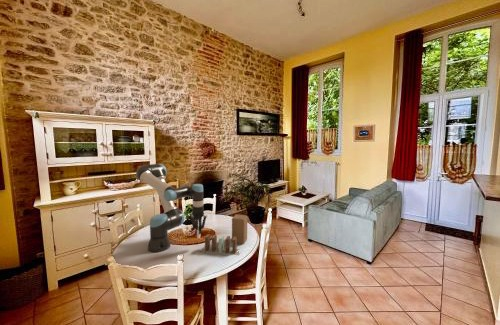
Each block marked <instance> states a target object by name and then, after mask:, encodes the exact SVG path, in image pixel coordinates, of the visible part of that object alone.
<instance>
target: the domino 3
mask: <svg viewBox="0 0 500 325" xmlns="http://www.w3.org/2000/svg"><path fill="white" fill-rule="evenodd" d="M224 243H225V246H224V248H225V253H229V251H230V248H231V236H230V235H227V236H226V238H225V242H224Z"/></svg>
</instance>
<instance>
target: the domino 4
mask: <svg viewBox="0 0 500 325" xmlns="http://www.w3.org/2000/svg"><path fill="white" fill-rule="evenodd" d="M231 243H232V246H231V247H232V248H231V249H232V254H235V253H236V251H237V249H238V244H237V237H234V238H233V240H232V239H231Z"/></svg>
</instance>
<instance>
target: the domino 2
mask: <svg viewBox="0 0 500 325" xmlns="http://www.w3.org/2000/svg"><path fill="white" fill-rule="evenodd" d="M217 240H218V237H217V234H213V236H212V237H211V247H212V252H215V250H216V249H217V247H218V246H217V245H218V244H217V242H218V241H217Z"/></svg>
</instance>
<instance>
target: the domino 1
mask: <svg viewBox="0 0 500 325" xmlns="http://www.w3.org/2000/svg"><path fill="white" fill-rule="evenodd" d="M204 246H205V251H208V250H209V249H210V247H211V234H206V235H205V236H204Z"/></svg>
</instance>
